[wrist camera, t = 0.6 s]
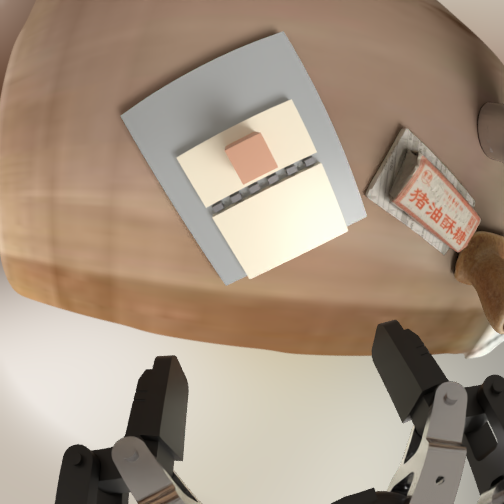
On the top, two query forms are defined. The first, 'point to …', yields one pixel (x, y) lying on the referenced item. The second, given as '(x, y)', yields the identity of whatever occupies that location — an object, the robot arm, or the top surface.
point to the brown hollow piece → (485, 274)
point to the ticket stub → (247, 152)
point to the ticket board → (266, 189)
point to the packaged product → (424, 195)
